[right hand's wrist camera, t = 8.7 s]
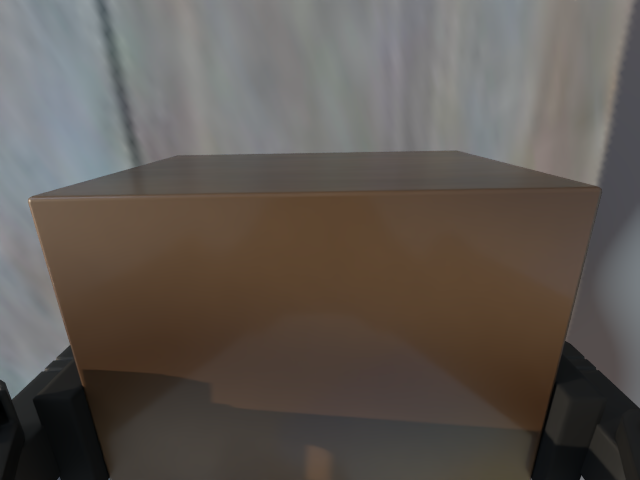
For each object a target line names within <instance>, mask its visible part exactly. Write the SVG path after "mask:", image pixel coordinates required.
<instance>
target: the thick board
mask: <svg viewBox="0 0 640 480" xmlns="http://www.w3.org/2000/svg"><path fill="white" fill-rule="evenodd" d="M601 194H602V189H601V188H599V187H597V186H593V185H589V184H586V183H582V182H578V181H574V180H570V179H566V178H562V177H558V176H554V175H550V174H546V173H542V172H538V171H535V170H531V169H527V168H523V167H519V166H515V165H511V164H507V163H503V162H499V161H495V160H491V159H487V158H483V157H480V156H476V155H472V154H468V153H464V152H460V151H410V152H353V153H296V154H239V155H182V156H174V157H171V158H167V159H163V160H160V161H156V162H153V163H149V164H146V165H142V166H138V167H135V168H131V169H128V170H124V171H121V172H117V173H113V174H110V175H106V176H103V177H99V178H96V179H92V180H88V181H85V182H81V183H78V184H74V185H71V186H67V187H64V188H60V189H56V190H53V191H49V192H46V193H42V194H39V195H35V196H32V197H30V198H29V199H28V203H29V207H30V210H31V213H32V217H33V220H34V223H35V227H36V230H37V234H38V237H39V240H40V244H41V247H42V251H43V254H44V257H45V261H46V264H47V268H48V271H49V274H50V278H51V281H52V284H53V288H54V291H55V295H56V298H57V301H58V305H59V308H60V312H61V315H62V318H63V322H64V325H65V329H66V332H67V335H68V339H69V342H70V345H71V349H72V352H73V356H74V359H75V362H76V366H77V369H78V373H79V376H80V379H81V383H82V386H83V390H84V393H85V396H86V400H87V403H88V406H89V410H90V413H91V417H92V420H93V423H94V427H95V430H96V434H97V437H98V440H99V444H100V447H101V451H102V454H103V457H104V461H105V464H106V467H107V471H108V474H109V478H110V480H531V476H532V472H533V468H534V464H535V460H536V456H537V452H538V448H539V444H540V440H541V436H542V432H543V428H544V424H545V420H546V415H547V411H548V407H549V403H550V399H551V395H552V391H553V387H554V383H555V379H556V375H557V371H558V367H559V363H560V359H561V355H562V351H563V347H564V343H565V339H566V335H567V331H568V327H569V323H570V319H571V315H572V311H573V307H574V303H575V299H576V295H577V291H578V287H579V283H580V279H581V275H582V271H583V267H584V263H585V259H586V255H587V250H588V246H589V242H590V238H591V234H592V230H593V226H594V222H595V218H596V214H597V210H598V206H599V202H600V198H601Z"/></svg>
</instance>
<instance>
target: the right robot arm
mask: <svg viewBox="0 0 640 480" xmlns="http://www.w3.org/2000/svg"><path fill="white" fill-rule="evenodd" d="M581 475H582V477H583V478H584V479H585V480H640V408H639V407H638V406H637V405H635V404H634V403H633V402H632V401H631V400H630V399H629V398H628V397H627V396H626V395H625V394H624V393H623V392H622V391H620V390H619V389H618V388H617V387H616V386H615V385H614V384H613V383H612V382H611V381H610V380H609V379H608V378H607V377H605V376H604V375H603V374H602V373H601V372H600V371H599V370H596V367H595V366H594V365H593V364H591V363H590V362H589V361H588V360H587V359H584V356H583V355H582V354H581V353H580V352H579V351H578V350H577V349H575V348H574V347H573V346H572V345H571V344H570V343H568V342H566V341H565V343H564V347H563V351H562V355H561V359H560V363H559V367H558V371H557V375H556V379H555V383H554V387H553V391H552V395H551V399H550V403H549V407H548V411H547V415H546V420H545V424H544V428H543V432H542V436H541V440H540V444H539V448H538V452H537V456H536V460H535V464H534V468H533V472H532V476H531V478H532V480H580V477H581ZM59 476H60V479H61V480H108V479H109V474H108V471H107V467H106V464H105V461H104V457H103V454H102V451H101V447H100V444H99V440H98V437H97V434H96V430H95V427H94V423H93V420H92V417H91V413H90V410H89V406H88V403H87V400H86V396H85V393H84V390H83V386H82V383H81V379H80V376H79V373H78V369H77V366H76V362H75V359H74V356H73V352H72V349H71V345H70V346H69V347H68V348H67V349H65V350H64V351H63V352H62V353H61V354H60V355H59V356H58V357H57V358H56V361H53V362H52V363H51V364H49V365H48V366H47V367H46V368H45V371H44V372H41V373H40V374H39V375H38V376H37V377H36V378H35V379H34V380H32V381H31V382H30V383H29V384H28V385H27V386H26V387H25V388H24V389H23V390H22V391H21V392H20V393H19V394H18V395H17V396H15V397H14V398H13V399H12V400H11V397H10V394H9V392H8V389H7V386H6V384H5V382H3V381H1V380H0V480H57V479H58V478H59Z"/></svg>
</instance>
